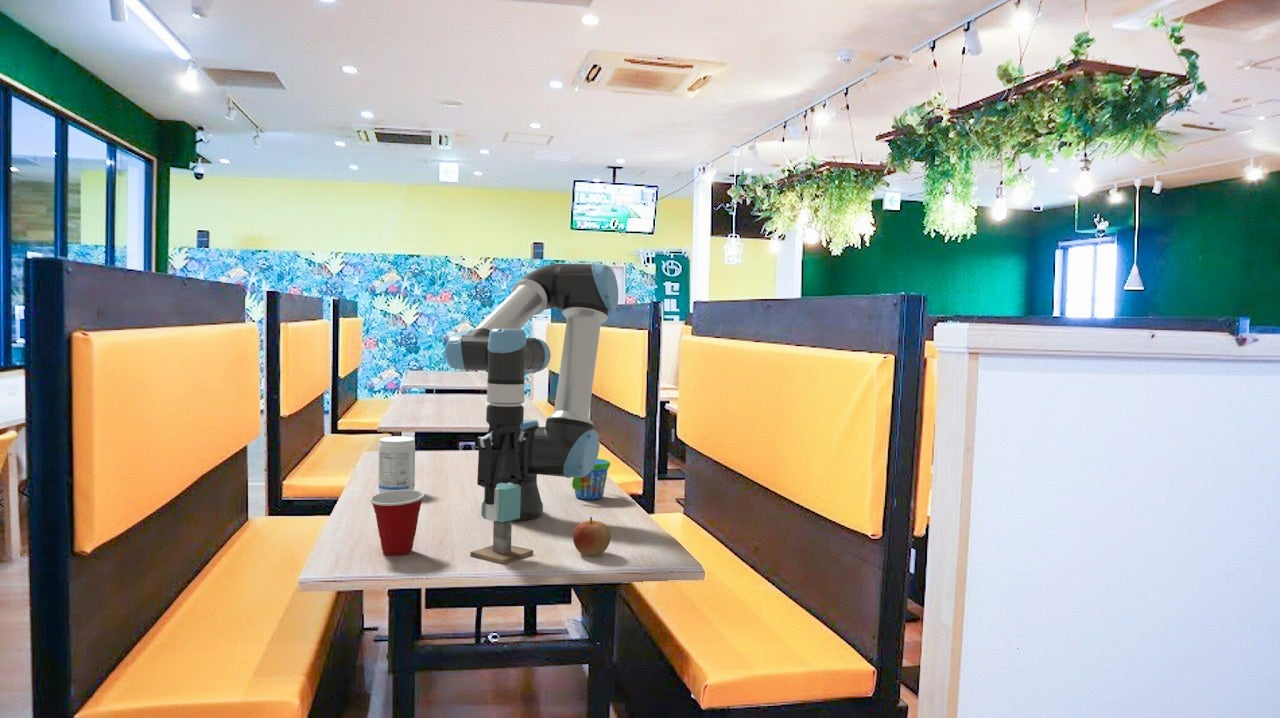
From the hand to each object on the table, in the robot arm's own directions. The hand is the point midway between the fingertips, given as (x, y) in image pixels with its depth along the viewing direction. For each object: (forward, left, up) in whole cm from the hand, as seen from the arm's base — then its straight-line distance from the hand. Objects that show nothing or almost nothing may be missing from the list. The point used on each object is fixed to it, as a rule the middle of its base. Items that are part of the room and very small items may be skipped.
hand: (502, 517), depth 172 cm
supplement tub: (-27, -63, -8) cm, 69 cm away
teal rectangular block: (0, 0, 0) cm, 0 cm away
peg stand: (0, 0, -8) cm, 8 cm away
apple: (-12, +14, -8) cm, 20 cm away
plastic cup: (+12, -18, -8) cm, 23 cm away
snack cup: (-56, -19, -8) cm, 60 cm away
